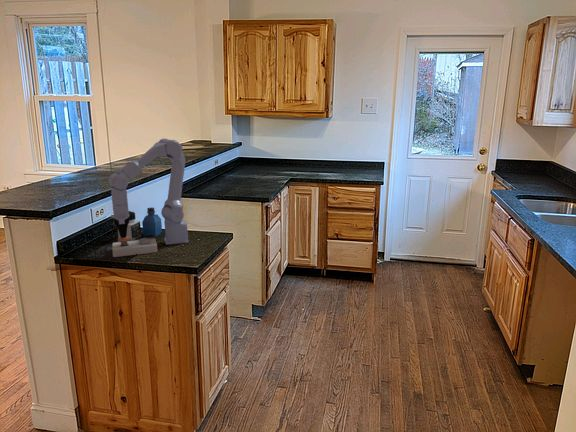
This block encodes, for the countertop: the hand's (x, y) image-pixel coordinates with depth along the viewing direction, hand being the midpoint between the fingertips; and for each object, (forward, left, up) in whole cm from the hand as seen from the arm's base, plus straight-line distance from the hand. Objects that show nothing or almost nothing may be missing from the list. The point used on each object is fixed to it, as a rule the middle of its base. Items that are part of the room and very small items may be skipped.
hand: (123, 236), depth 185 cm
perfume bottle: (-13, -23, -7) cm, 27 cm away
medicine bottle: (-3, -20, -7) cm, 21 cm away
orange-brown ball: (0, 0, -4) cm, 4 cm away
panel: (-4, 0, -6) cm, 8 cm away
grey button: (-8, 0, -6) cm, 10 cm away
